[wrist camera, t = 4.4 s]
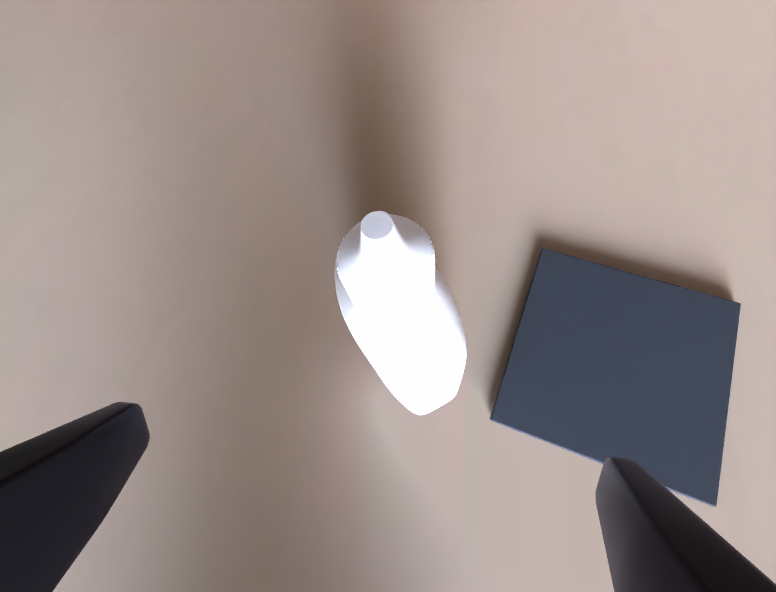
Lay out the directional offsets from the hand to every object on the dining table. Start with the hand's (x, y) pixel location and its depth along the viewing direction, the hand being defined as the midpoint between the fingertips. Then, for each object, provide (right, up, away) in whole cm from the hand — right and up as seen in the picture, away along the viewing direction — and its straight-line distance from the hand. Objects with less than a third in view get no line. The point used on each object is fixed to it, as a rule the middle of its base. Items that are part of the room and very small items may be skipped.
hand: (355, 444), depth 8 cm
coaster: (+11, 0, +11) cm, 15 cm away
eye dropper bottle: (+2, 0, +12) cm, 12 cm away
